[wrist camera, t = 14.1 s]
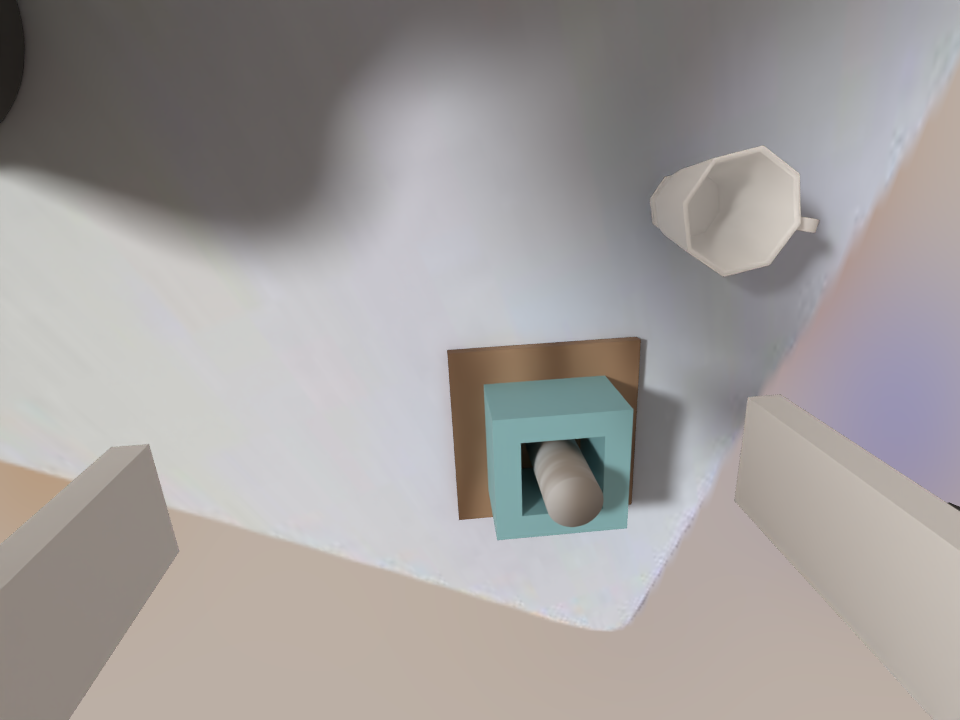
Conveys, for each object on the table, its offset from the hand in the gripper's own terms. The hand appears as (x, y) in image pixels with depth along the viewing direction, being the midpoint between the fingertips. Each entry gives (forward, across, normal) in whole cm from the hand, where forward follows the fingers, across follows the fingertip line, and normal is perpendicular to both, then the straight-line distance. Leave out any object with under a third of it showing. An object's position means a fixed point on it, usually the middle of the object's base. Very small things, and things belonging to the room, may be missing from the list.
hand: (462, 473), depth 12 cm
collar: (+26, +7, -13) cm, 30 cm away
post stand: (+27, +7, -13) cm, 31 cm away
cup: (+27, +18, +3) cm, 33 cm away
